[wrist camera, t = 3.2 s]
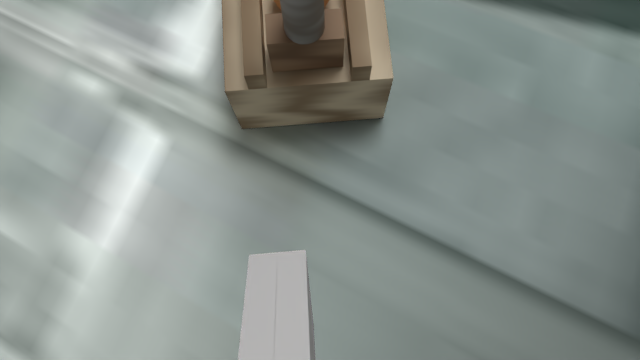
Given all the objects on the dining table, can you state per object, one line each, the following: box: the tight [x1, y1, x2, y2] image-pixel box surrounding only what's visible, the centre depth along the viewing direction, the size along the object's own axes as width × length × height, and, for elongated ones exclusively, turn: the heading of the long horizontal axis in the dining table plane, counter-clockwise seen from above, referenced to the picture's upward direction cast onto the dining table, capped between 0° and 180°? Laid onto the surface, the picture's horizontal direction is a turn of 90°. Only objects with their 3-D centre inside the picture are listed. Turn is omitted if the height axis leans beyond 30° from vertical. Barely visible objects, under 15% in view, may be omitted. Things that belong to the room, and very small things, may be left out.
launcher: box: [222, 0, 393, 129], centre depth 38 cm, size 11×12×9 cm
